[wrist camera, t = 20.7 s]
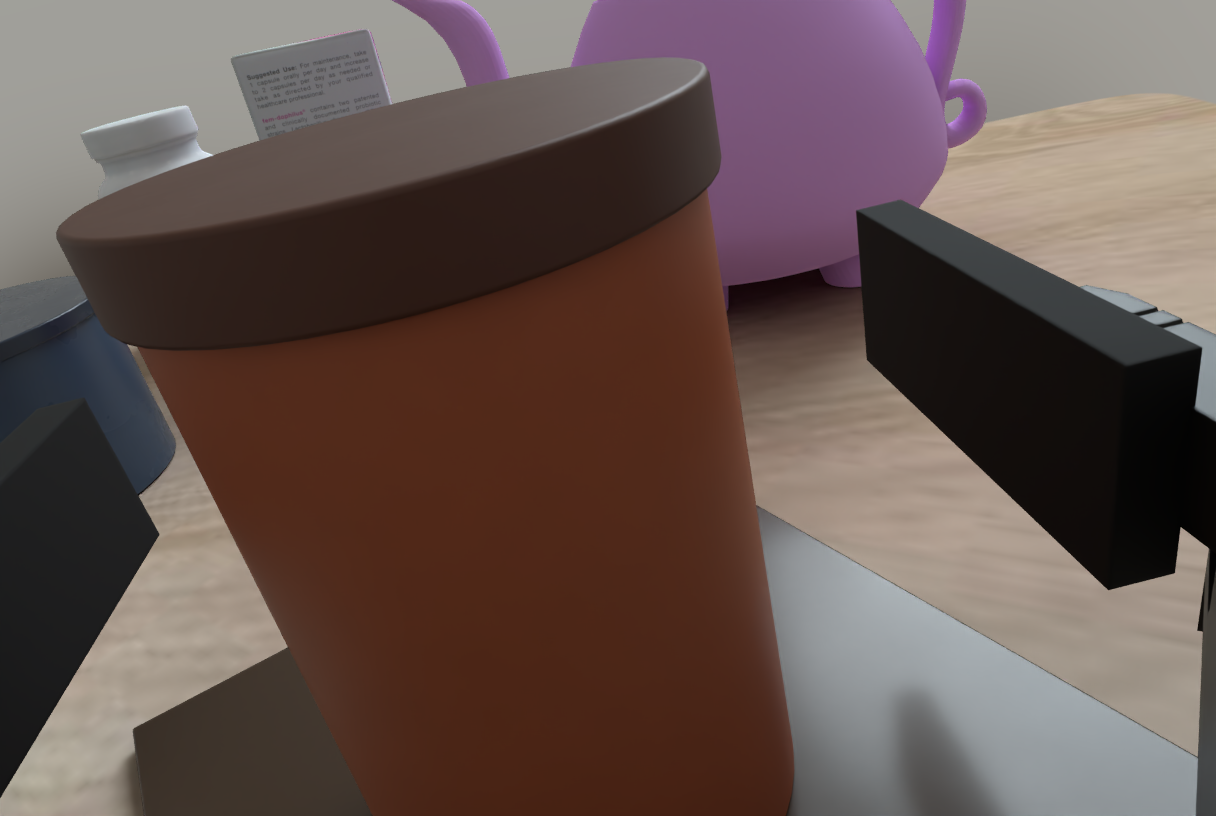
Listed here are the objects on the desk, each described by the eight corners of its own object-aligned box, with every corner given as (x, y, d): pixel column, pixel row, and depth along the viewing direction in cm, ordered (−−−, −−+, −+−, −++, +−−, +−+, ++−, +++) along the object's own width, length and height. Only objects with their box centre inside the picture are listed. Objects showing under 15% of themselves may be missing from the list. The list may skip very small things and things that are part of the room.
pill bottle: (305, 299, 43) (225, 96, 39) (209, 348, 39) (108, 128, 35) (238, 297, 46) (157, 109, 42) (143, 342, 42) (42, 140, 38)
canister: (494, 1121, 10) (56, 301, 5) (332, 752, 15) (51, 197, 11) (908, 776, 12) (857, 42, 8) (644, 569, 18) (525, 64, 13)
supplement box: (450, 290, 39) (367, 24, 34) (323, 326, 39) (218, 59, 33) (442, 259, 44) (369, 23, 39) (329, 290, 44) (240, 54, 38)
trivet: (325, 2003, 6) (303, 2002, 6) (140, 742, 17) (131, 728, 17) (1299, 837, 11) (1304, 817, 11) (664, 463, 22) (661, 450, 22)
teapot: (477, 409, 27) (342, -18, 22) (491, 276, 40) (409, -16, 34) (1090, 269, 27) (1115, -201, 21) (909, 179, 40) (895, -131, 34)
